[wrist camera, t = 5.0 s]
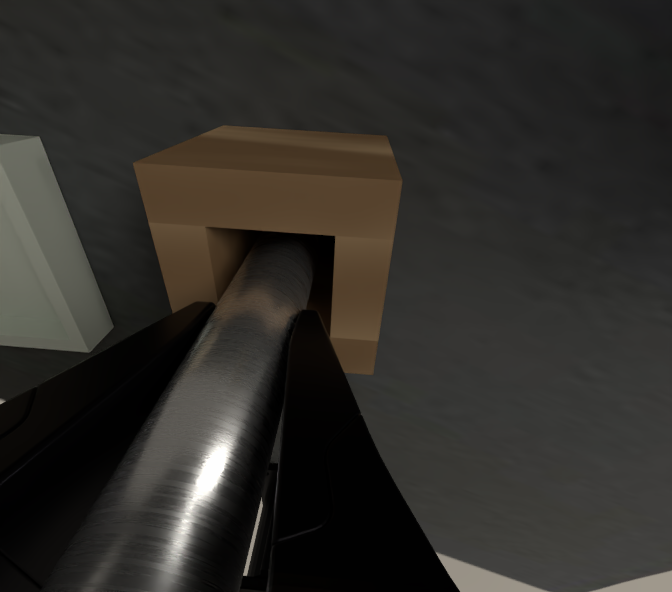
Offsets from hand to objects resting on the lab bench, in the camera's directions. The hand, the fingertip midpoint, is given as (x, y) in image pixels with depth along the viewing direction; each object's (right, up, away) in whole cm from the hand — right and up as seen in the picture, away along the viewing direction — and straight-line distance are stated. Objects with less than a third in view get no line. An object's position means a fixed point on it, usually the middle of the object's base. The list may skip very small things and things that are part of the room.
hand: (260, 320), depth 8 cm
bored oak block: (0, +4, +6) cm, 7 cm away
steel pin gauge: (0, +2, +3) cm, 4 cm away
